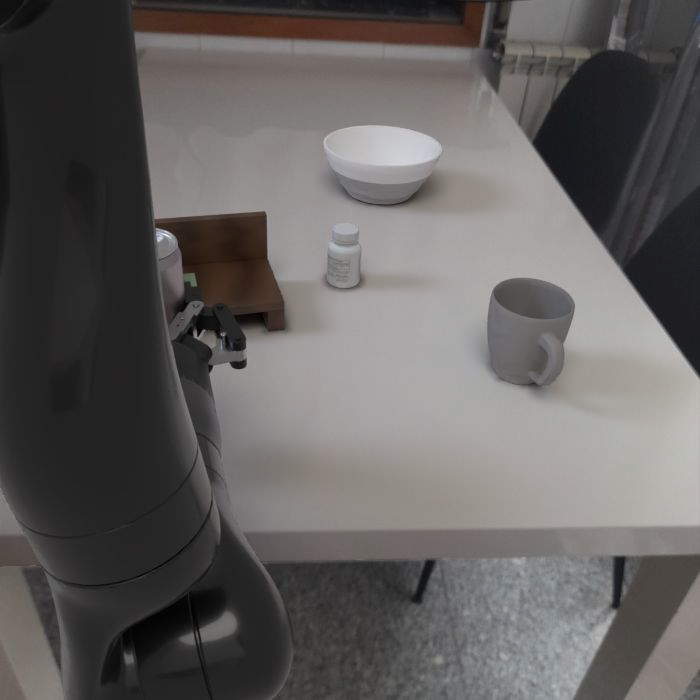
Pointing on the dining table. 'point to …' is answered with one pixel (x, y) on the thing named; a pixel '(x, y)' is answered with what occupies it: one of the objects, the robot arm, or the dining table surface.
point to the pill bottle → (344, 256)
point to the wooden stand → (229, 262)
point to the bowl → (381, 161)
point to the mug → (528, 330)
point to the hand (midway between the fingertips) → (147, 294)
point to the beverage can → (171, 273)
